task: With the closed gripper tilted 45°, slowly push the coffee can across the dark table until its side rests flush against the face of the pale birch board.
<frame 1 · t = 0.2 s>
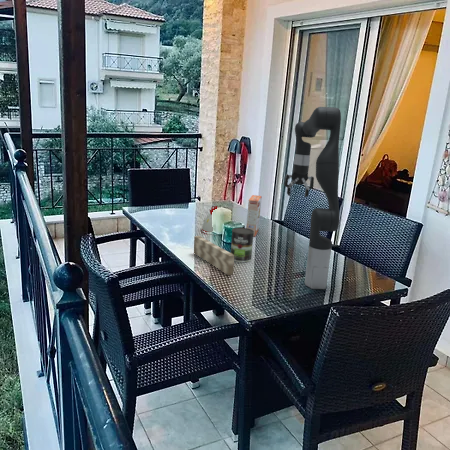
hand: (297, 196, 227), 29 cm above the table, tool pointing down, fingers open, 8 cm apart
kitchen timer: (214, 232, 258), on the table
cracker box: (252, 233, 260), on the table
birch board: (212, 263, 209), on the table
coffee can: (240, 259, 218), on the table
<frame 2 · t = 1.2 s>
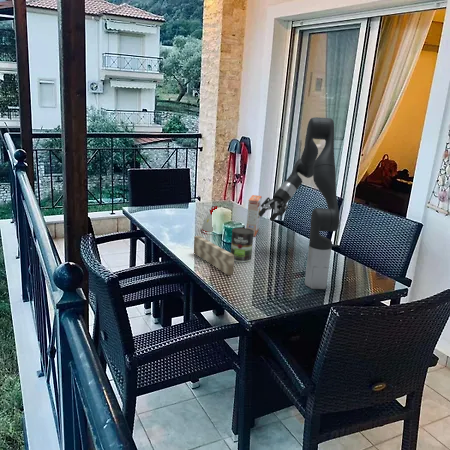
hand: (265, 217, 220), 19 cm above the table, tool tilted 45°, fingers open, 8 cm apart
nothing on the table moved.
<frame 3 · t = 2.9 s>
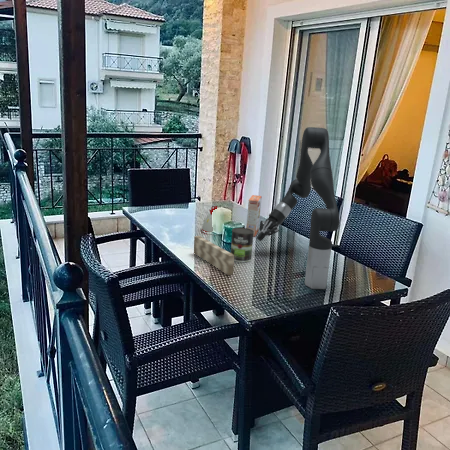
hand: (258, 239, 222), 8 cm above the table, tool tilted 45°, fingers closed
nothing on the table moved.
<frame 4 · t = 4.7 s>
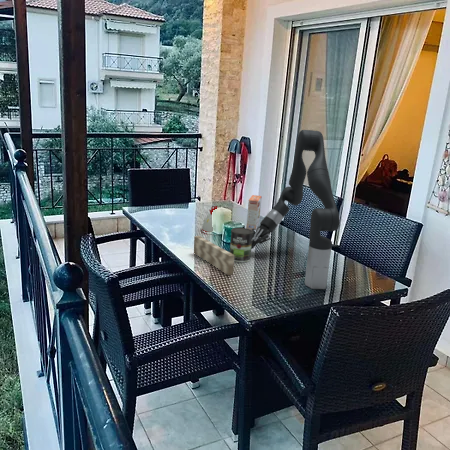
hand: (249, 247, 220), 5 cm above the table, tool tilted 45°, fingers closed
coffee can: (240, 259, 218), on the table, touching gripper
everything else where it was.
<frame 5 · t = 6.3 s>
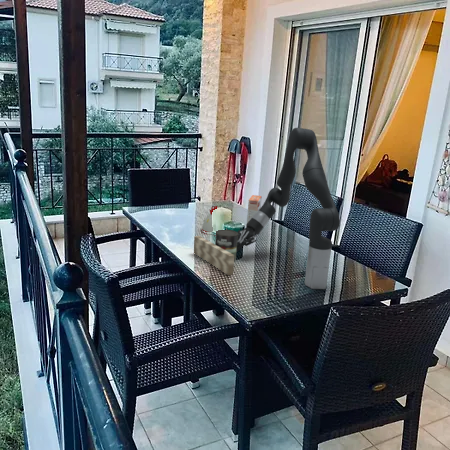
hand: (235, 250, 215), 5 cm above the table, tool tilted 45°, fingers closed
coffee can: (225, 261, 213), on the table, touching gripper
everything else where it was.
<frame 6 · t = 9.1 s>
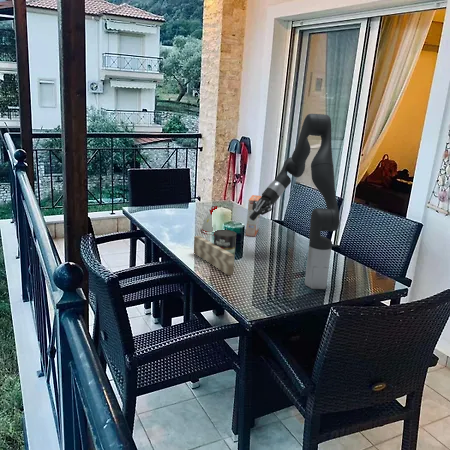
hand: (251, 219, 215), 19 cm above the table, tool tilted 45°, fingers closed
coffee can: (223, 261, 213), on the table
everything else where it was.
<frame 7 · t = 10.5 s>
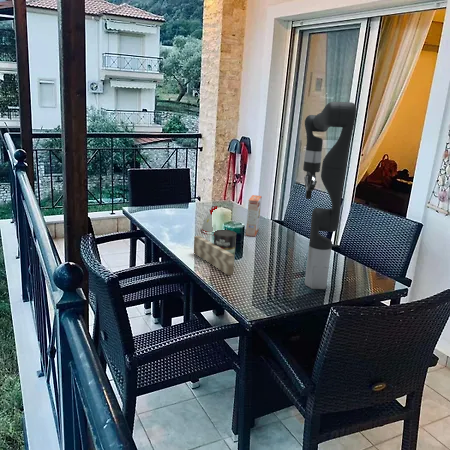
hand: (308, 198, 209), 32 cm above the table, tool pointing down, fingers closed
nothing on the table moved.
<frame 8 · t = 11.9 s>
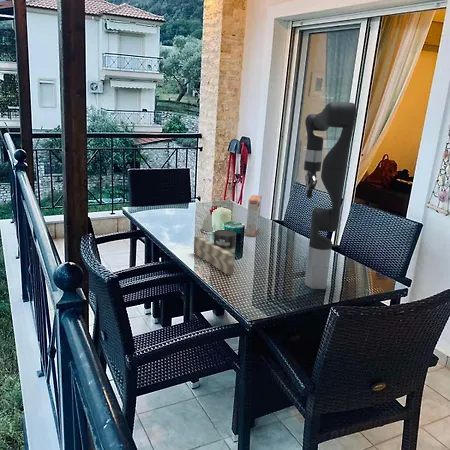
hand: (308, 197, 209), 32 cm above the table, tool pointing down, fingers closed
nothing on the table moved.
at the end: coffee can 0.9 cm from the target spot on the table beside the birch board, on the table; coffee can tilted 0° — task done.
